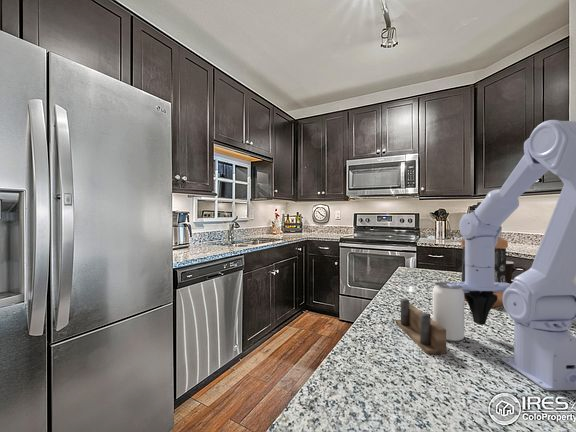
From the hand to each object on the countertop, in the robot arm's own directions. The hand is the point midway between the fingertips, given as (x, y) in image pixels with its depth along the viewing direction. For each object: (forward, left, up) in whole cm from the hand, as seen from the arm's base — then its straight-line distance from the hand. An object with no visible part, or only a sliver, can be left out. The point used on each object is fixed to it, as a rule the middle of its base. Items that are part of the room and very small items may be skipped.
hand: (479, 323), depth 66 cm
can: (0, +7, -3) cm, 8 cm away
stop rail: (0, +14, -3) cm, 14 cm away
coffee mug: (+37, -35, -3) cm, 51 cm away
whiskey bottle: (+24, -18, -3) cm, 30 cm away
